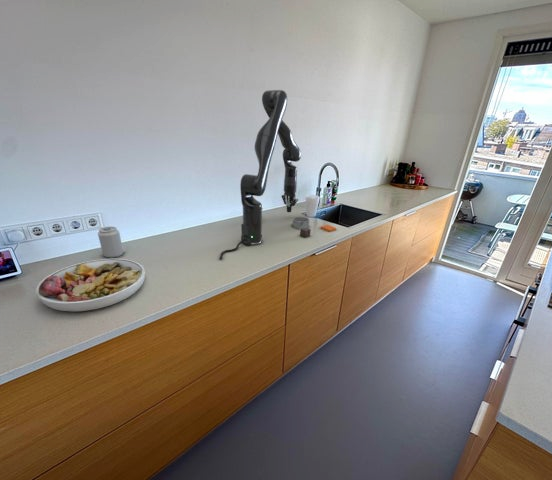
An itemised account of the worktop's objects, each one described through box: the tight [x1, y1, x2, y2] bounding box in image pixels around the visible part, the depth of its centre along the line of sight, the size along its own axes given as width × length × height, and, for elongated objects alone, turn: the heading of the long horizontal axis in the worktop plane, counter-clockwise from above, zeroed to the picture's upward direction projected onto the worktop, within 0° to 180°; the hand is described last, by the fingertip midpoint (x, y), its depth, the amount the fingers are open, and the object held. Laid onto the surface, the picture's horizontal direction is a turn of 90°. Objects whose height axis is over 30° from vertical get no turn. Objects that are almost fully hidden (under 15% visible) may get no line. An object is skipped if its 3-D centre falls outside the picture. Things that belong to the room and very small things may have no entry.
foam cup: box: [305, 194, 321, 218], centre depth 193 cm, size 10×9×13 cm
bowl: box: [35, 258, 146, 312], centre depth 97 cm, size 30×30×8 cm
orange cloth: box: [320, 224, 337, 233], centre depth 172 cm, size 6×7×1 cm
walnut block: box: [299, 228, 311, 239], centre depth 159 cm, size 4×4×4 cm
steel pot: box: [292, 216, 310, 230], centre depth 173 cm, size 10×10×4 cm
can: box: [97, 226, 124, 259], centre depth 121 cm, size 8×8×12 cm
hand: (288, 212), depth 178 cm, fingers closed
